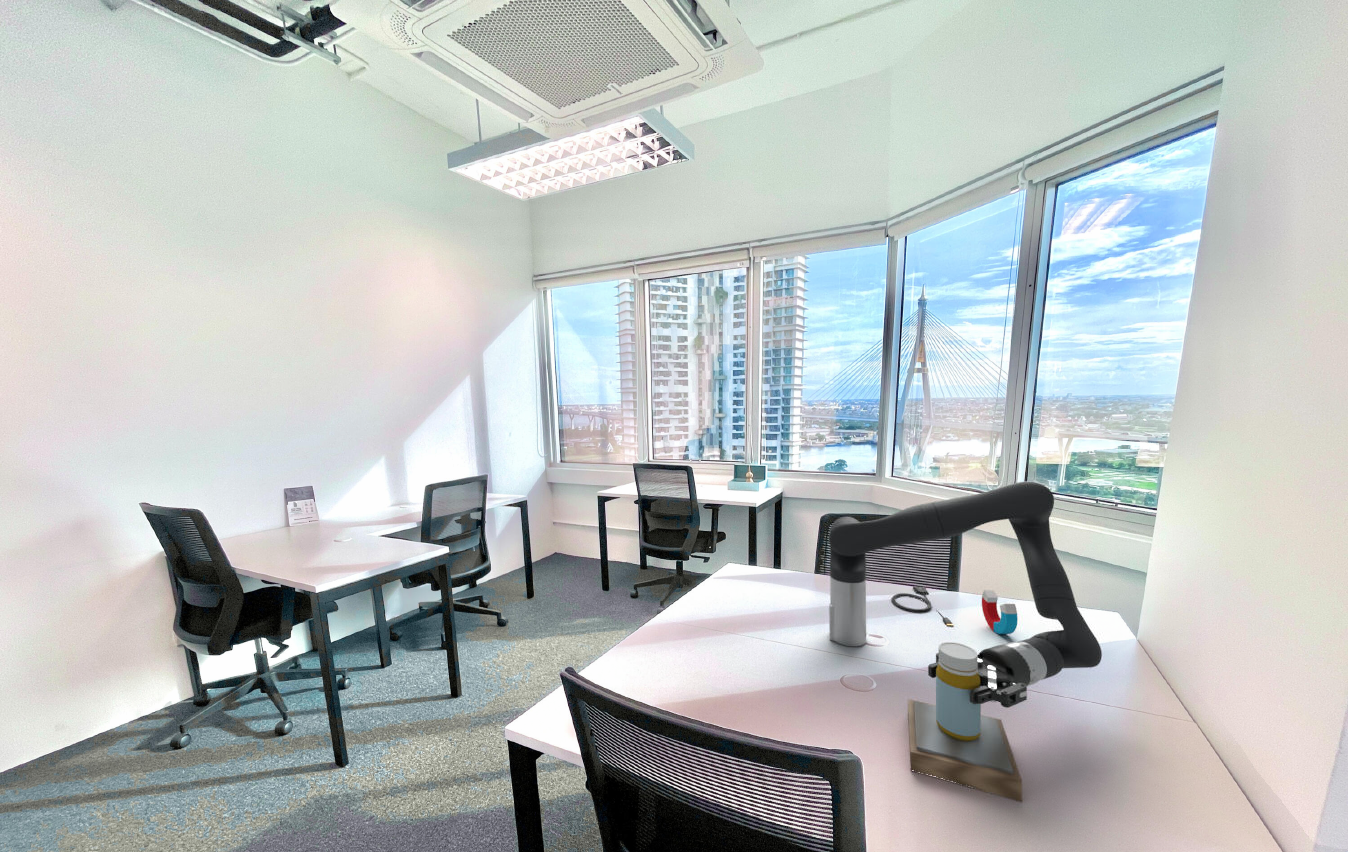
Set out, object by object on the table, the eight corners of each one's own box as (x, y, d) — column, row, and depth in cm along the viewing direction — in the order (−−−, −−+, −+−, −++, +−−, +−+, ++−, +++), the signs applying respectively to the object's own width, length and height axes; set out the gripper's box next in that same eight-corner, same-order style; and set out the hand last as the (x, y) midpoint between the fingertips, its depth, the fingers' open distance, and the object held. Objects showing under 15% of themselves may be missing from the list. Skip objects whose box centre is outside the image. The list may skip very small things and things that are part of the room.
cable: (902, 624, 137) (902, 619, 137) (883, 588, 164) (883, 583, 164) (954, 628, 134) (954, 623, 134) (925, 590, 161) (925, 586, 161)
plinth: (910, 770, 82) (910, 748, 82) (908, 715, 96) (907, 696, 96) (1021, 801, 75) (1021, 777, 75) (1001, 737, 89) (1001, 716, 89)
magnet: (1017, 642, 124) (1018, 605, 124) (1007, 642, 125) (1007, 605, 124) (991, 621, 136) (991, 588, 136) (981, 621, 136) (981, 588, 136)
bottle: (928, 718, 89) (927, 642, 89) (962, 715, 90) (962, 639, 89) (953, 744, 82) (952, 661, 82) (989, 741, 83) (990, 659, 82)
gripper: (976, 630, 97) (917, 645, 91) (1052, 665, 83) (987, 685, 78) (976, 665, 97) (917, 682, 91) (1052, 706, 83) (987, 729, 78)
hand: (949, 684), depth 85 cm, fingers open, 8 cm apart
